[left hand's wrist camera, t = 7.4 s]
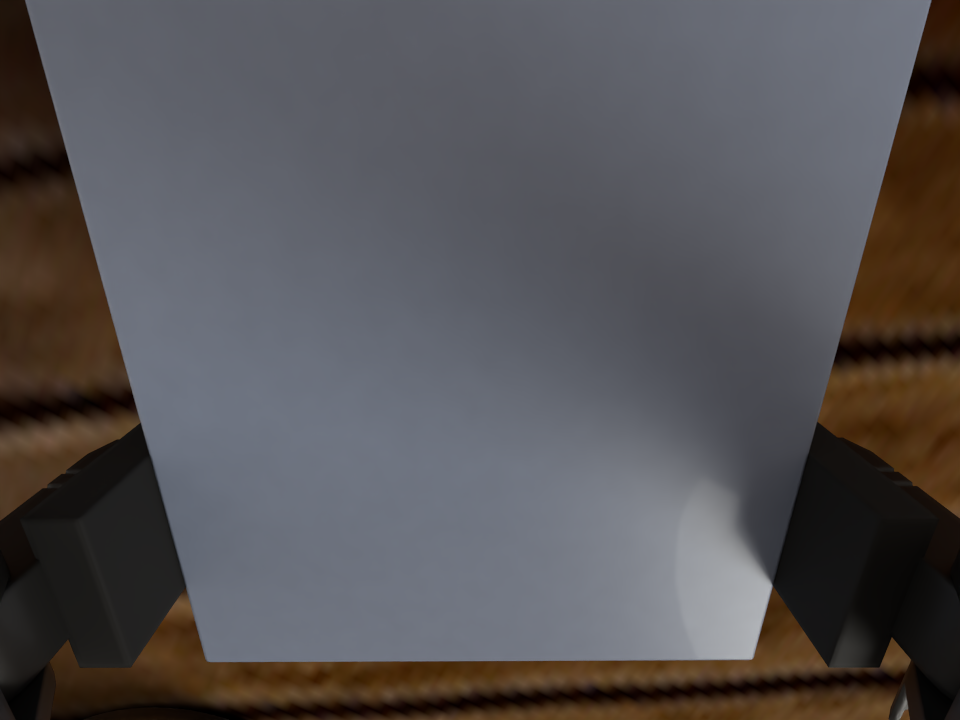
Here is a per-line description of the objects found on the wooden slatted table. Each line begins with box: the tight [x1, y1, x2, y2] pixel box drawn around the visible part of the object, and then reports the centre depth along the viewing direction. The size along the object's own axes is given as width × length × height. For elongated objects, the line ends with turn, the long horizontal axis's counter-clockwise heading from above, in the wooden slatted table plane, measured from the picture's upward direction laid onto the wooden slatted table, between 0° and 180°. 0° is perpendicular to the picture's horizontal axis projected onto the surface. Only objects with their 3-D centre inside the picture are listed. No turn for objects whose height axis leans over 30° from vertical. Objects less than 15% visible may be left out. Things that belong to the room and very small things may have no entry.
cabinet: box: [25, 0, 931, 662], centre depth 11 cm, size 19×10×10 cm, turn 0°
